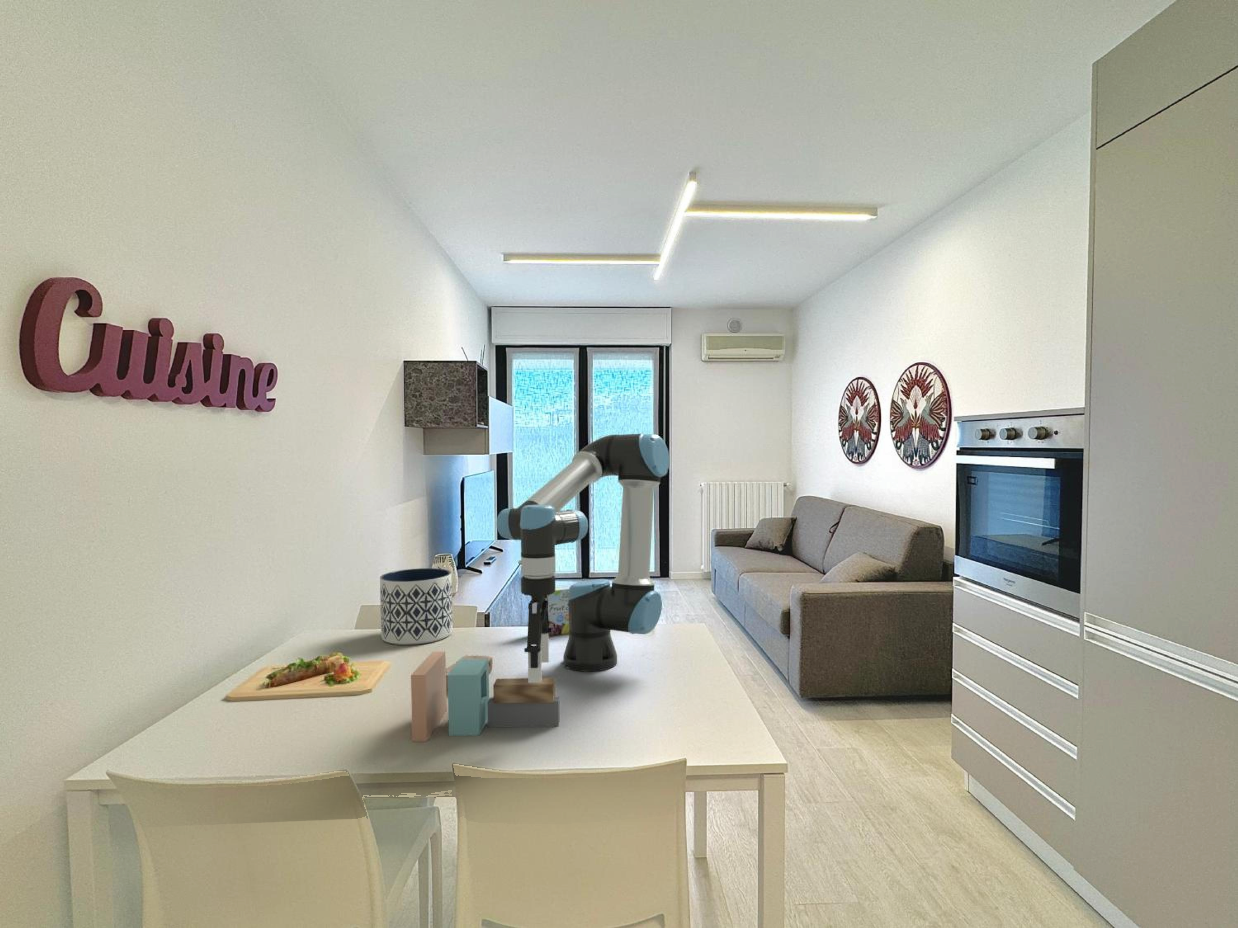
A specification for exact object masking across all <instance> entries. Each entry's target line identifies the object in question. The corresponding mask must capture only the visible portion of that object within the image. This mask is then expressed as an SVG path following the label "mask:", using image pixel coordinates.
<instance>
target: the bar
mask: <svg viewBox="0 0 1238 928" xmlns="http://www.w3.org/2000/svg"><path fill="white" fill-rule="evenodd" d="M492 685H493V687H492V688H493V697H494V703H546V702H554V698H555V697H556V678H555V677H542V682H541V683H528V677H523V678H521V677H520V678H519V677H518V678H496V679H495V681H494V683H493V684H492Z"/></svg>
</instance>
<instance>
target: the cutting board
mask: <svg viewBox="0 0 1238 928" xmlns="http://www.w3.org/2000/svg"><path fill="white" fill-rule="evenodd" d="M391 667H392V662H391V661H387V660H386V661H385V660H374V661H373V660H372V661H371V660H369V661H368V660H367V661H351V658H350V657H348V656H345V655H344V654H343V653H342V652H333V653H331V654H330V655H329V654H328V655H325V654H320V655H318V656H317V657H314V658H313V659H310V660H307V661H306V660H304V658H303V657H298V658H296V659H295V662H292V663H289V664H287V665H286V664H281V665H269V666H265V667H263V668H260V669H259V670H258V671H256V672H255V673H254V674H252V675H251V676H250V677H248V678H247V679H245V680H244V681H243V682H241V684H239V685H238V686H237V687H235V688H234V689H232V690H231V691H229V692H228V693H227V694H225V701H226V700H227V701H231V702H243V701H263V700H265V701H267V700H281V699H282V700H285V699H305V698H306V699H307V698H323V697H324V698H325V697H326V698H328V697H342V696H343V697H345V696H346V697H347V696H362V695H365V694H369V693H370V694H371V693H372V692H373V691H374V690H375V688H376V687H377V685H378V684H379V683H380V681H381V680H382V679H383V678H384V676H385V674H386V673H388V671H389V670H390V668H391Z"/></svg>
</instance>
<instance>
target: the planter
mask: <svg viewBox="0 0 1238 928" xmlns="http://www.w3.org/2000/svg"><path fill="white" fill-rule="evenodd" d="M452 580H453V579H452V571H451V570H448V569H444V568H433V567H432V568H429V567H428V568H427V567H426V568H423V567H422V568H409V569H400V570H396V571H395V570H394V571H390V572H386V573H383V574H382V575H381V576H380V577H379V595H380V596H379V597H380V598H379V599H380V600H379V601H380V634H381V639H382V640H383V641H384V642H385V643H388V644H391V645H398V646H413V645H414V646H415V645H424V644H429V643H435V642H438V641H441V640H443V639H445V638H447V637H449V636H450V635H451V634H452V633H453V628H454V626H453V623H454V622H453V586H452V585H453V582H452Z"/></svg>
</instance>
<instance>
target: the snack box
mask: <svg viewBox="0 0 1238 928" xmlns="http://www.w3.org/2000/svg"><path fill="white" fill-rule="evenodd" d="M571 585H572V584H569V585H560V586H555V592H554V593H553V594H550V595H547V600H548V616H549V624H550V626H549V628H552V631H551V632H546V633H548V637H552V636H561V635H566V634H568V635H569V602H568V598H569V588H570V586H571ZM530 599H532V597H531V596H530Z"/></svg>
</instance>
